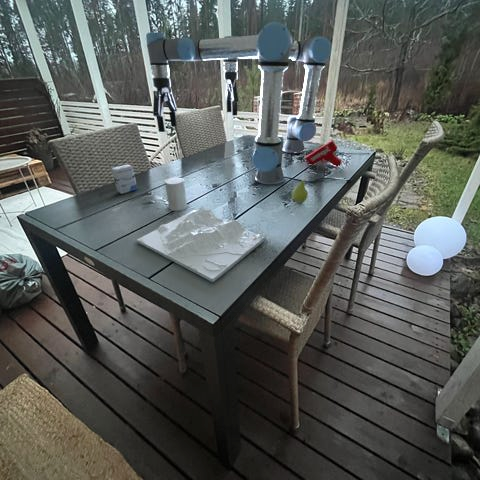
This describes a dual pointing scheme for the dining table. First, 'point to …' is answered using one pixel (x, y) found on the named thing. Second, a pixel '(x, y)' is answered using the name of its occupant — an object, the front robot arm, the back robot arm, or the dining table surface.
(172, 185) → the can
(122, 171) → the ink box
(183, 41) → the front robot arm
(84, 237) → the dining table surface
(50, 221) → the dining table surface
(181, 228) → the relief map
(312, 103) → the back robot arm
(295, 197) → the fruit
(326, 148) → the toy gun
